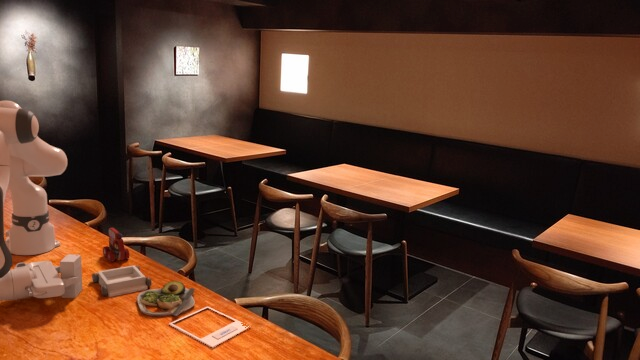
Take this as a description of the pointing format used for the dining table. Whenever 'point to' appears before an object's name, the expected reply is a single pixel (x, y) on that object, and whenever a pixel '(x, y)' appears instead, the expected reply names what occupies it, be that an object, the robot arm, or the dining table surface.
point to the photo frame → (218, 335)
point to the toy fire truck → (115, 247)
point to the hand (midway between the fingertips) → (74, 273)
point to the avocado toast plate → (167, 299)
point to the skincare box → (71, 274)
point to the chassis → (121, 280)
